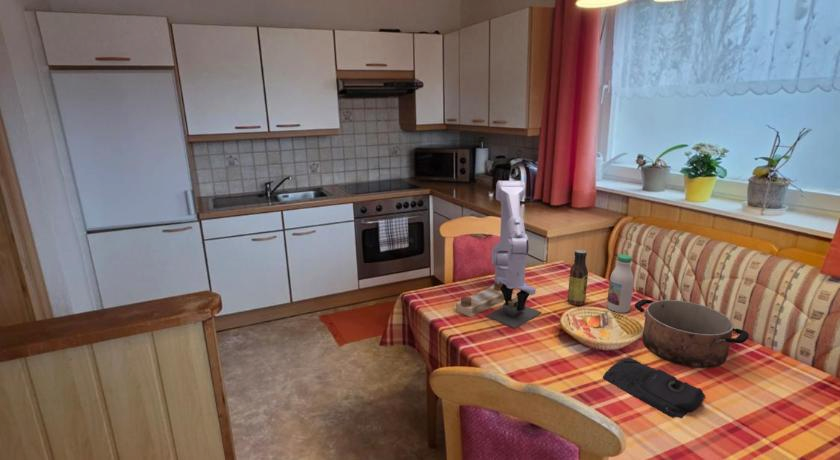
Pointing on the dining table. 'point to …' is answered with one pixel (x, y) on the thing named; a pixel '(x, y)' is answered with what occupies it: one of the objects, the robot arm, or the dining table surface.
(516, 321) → the rubber mat
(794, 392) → the dining table surface
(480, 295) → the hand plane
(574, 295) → the sauce bottle
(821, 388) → the dining table surface
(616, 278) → the milk bottle
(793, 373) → the dining table surface
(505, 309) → the lever cap
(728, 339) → the cooking pot
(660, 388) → the black flat holed part
